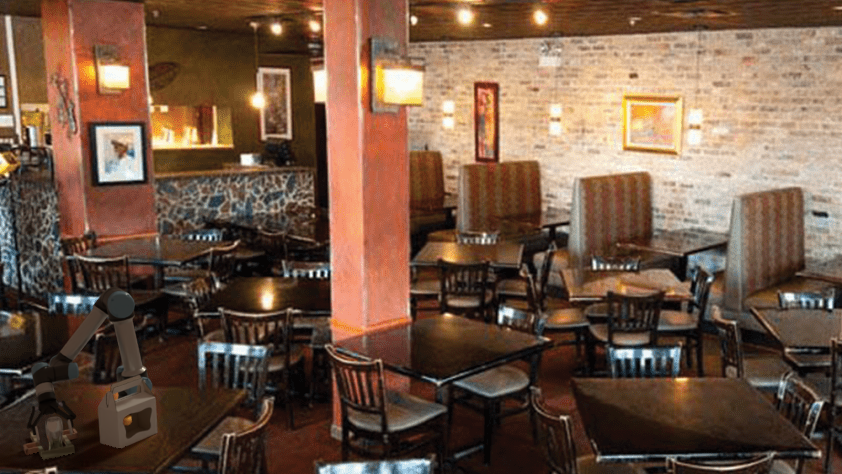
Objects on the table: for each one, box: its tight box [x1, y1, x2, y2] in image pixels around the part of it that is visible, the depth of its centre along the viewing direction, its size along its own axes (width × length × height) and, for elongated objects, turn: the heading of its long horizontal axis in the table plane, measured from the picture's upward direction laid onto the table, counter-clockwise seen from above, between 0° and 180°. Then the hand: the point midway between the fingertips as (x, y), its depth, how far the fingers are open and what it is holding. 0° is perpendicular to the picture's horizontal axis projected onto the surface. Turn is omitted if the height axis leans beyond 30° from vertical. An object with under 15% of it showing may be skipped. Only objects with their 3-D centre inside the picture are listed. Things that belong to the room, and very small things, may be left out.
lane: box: [29, 431, 76, 461], centre depth 376 cm, size 31×13×4 cm, turn 34°
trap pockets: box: [22, 427, 79, 456], centre depth 378 cm, size 14×23×2 cm, turn 124°
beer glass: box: [45, 415, 64, 450], centre depth 369 cm, size 7×7×15 cm
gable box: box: [97, 375, 158, 449], centre depth 382 cm, size 22×13×28 cm, turn 149°
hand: (55, 437), depth 367 cm, fingers open, 13 cm apart
